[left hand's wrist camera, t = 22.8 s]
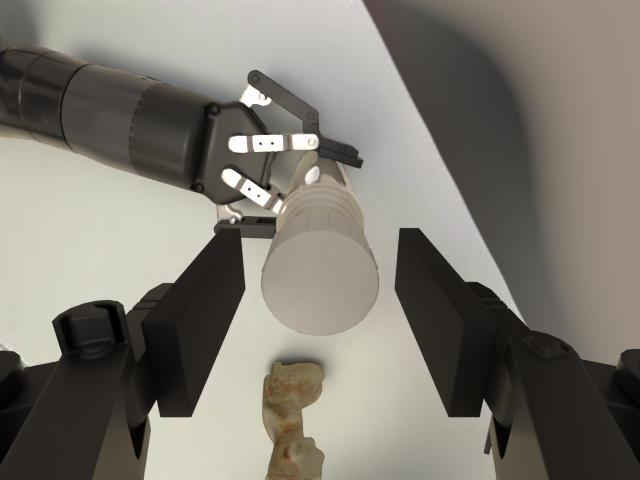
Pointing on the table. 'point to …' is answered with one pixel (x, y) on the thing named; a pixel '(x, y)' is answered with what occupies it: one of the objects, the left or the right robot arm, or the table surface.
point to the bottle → (319, 191)
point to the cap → (320, 274)
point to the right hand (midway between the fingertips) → (349, 192)
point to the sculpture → (291, 420)
